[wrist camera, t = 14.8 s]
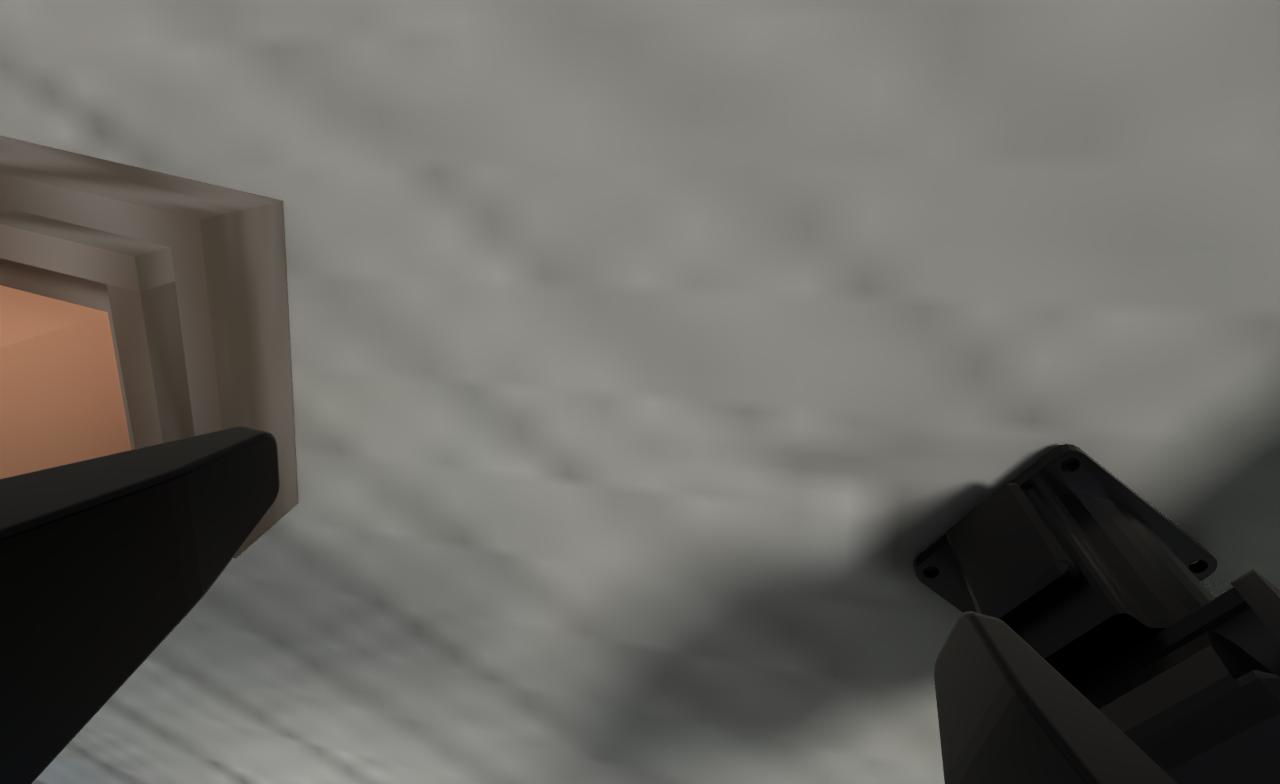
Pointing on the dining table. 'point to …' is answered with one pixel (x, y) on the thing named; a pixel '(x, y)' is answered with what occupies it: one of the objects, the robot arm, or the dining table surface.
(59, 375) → the terracotta column
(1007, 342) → the dining table surface
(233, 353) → the base block
